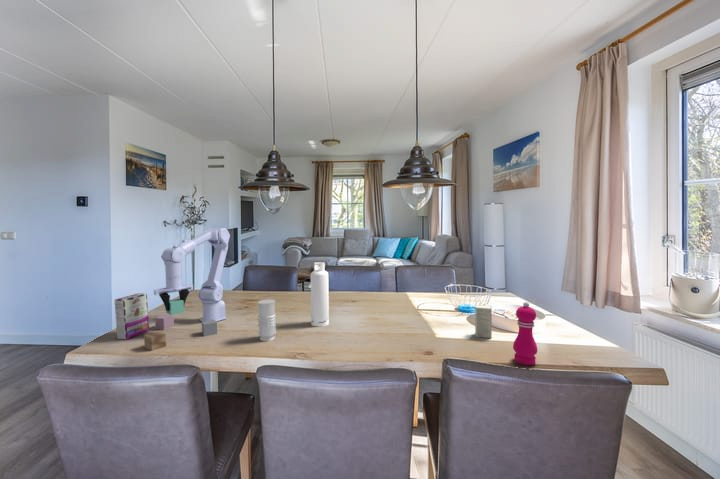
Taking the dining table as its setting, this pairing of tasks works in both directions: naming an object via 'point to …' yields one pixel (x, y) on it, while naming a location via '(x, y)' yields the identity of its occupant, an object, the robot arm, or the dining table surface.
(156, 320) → the plum block
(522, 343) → the pepper mill
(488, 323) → the skincare box
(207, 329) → the charcoal block
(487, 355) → the dining table surface
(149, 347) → the walnut block
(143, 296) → the candy bar box
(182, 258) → the robot arm
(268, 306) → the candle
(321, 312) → the bottle
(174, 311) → the teal block
